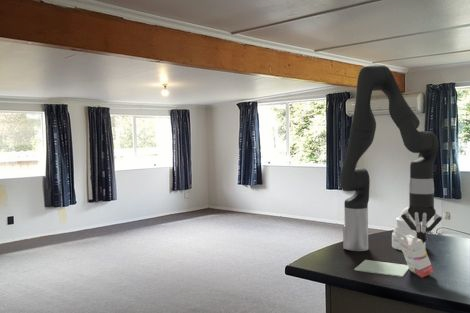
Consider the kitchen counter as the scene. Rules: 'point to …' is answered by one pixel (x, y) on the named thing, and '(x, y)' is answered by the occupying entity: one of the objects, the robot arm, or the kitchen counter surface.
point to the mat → (383, 268)
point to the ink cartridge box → (415, 255)
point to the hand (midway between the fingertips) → (421, 243)
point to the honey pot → (402, 230)
